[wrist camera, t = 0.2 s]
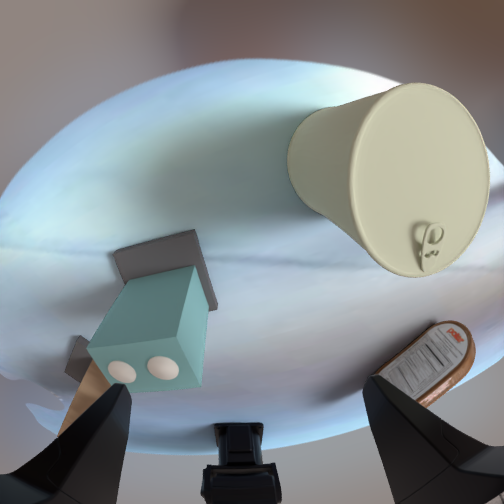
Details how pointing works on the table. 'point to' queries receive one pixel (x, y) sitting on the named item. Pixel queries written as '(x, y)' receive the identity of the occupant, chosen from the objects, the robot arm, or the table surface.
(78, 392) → the brown box
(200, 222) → the table surface
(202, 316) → the teal block
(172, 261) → the socket
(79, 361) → the socket
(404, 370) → the tin
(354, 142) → the can
